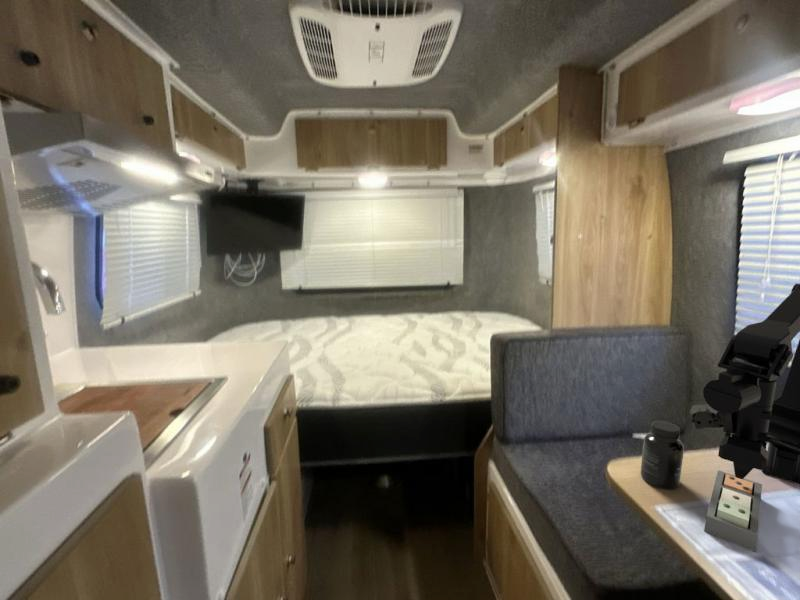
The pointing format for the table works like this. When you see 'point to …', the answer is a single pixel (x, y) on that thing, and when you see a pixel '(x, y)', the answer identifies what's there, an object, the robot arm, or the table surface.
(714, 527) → the grey tile tray
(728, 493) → the tile one dot
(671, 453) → the supplement bottle
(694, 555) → the table surface
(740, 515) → the tile two dots
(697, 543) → the table surface
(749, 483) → the tile three dots
